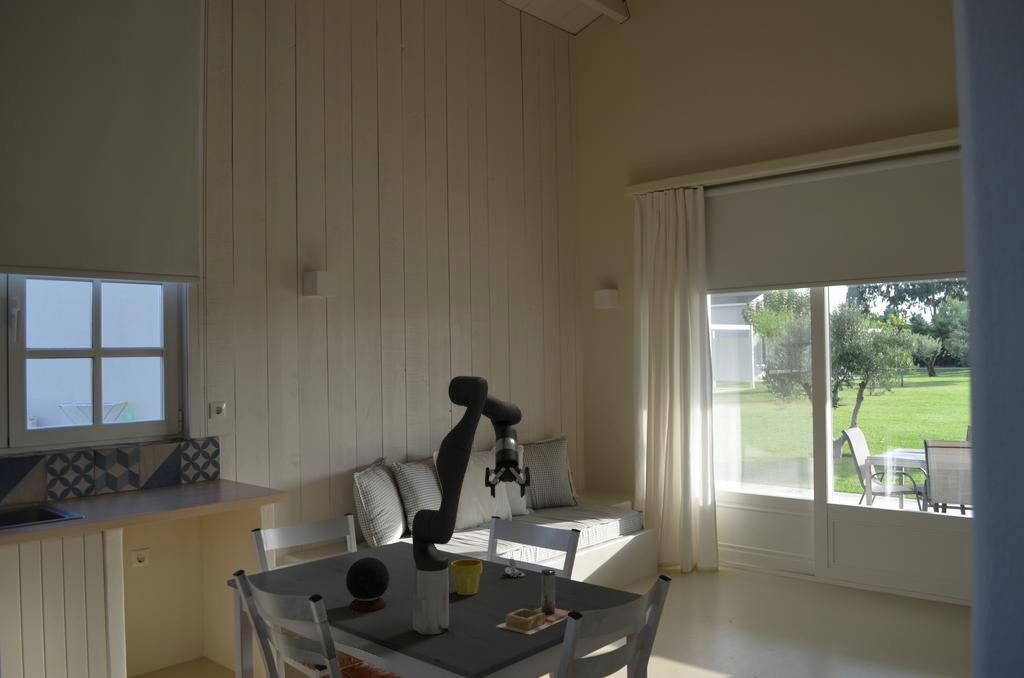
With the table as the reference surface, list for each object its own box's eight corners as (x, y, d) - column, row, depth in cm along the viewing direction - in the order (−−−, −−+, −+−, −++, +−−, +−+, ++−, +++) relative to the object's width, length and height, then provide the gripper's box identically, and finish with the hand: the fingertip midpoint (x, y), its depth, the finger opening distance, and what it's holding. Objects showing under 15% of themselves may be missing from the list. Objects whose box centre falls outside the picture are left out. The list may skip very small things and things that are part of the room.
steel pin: (546, 615, 231) (546, 573, 232) (538, 612, 235) (538, 570, 235) (557, 613, 233) (558, 571, 234) (549, 610, 237) (550, 568, 237)
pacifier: (517, 572, 289) (502, 574, 286) (517, 555, 290) (503, 556, 286) (528, 577, 283) (513, 579, 280) (528, 559, 283) (514, 560, 280)
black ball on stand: (347, 615, 240) (347, 564, 241) (344, 602, 253) (344, 554, 253) (391, 611, 244) (391, 561, 244) (386, 599, 256) (386, 551, 257)
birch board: (530, 639, 217) (529, 623, 217) (495, 630, 224) (495, 615, 224) (576, 617, 235) (576, 603, 235) (543, 610, 242) (543, 596, 242)
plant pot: (444, 594, 261) (444, 564, 261) (461, 587, 270) (461, 557, 270) (472, 598, 256) (472, 567, 256) (488, 590, 265) (488, 560, 266)
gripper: (484, 447, 257) (484, 489, 245) (529, 447, 258) (531, 488, 246) (484, 462, 262) (485, 503, 250) (528, 462, 263) (530, 503, 251)
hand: (508, 496), depth 248 cm, fingers open, 8 cm apart
